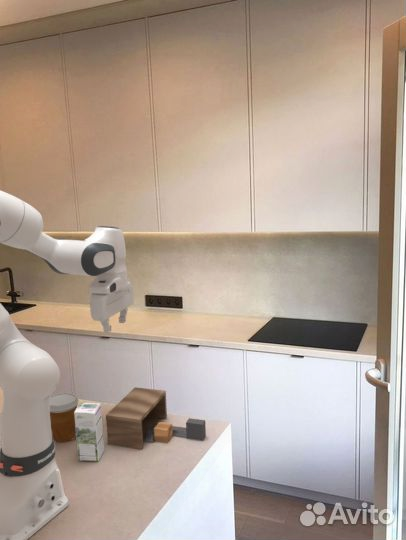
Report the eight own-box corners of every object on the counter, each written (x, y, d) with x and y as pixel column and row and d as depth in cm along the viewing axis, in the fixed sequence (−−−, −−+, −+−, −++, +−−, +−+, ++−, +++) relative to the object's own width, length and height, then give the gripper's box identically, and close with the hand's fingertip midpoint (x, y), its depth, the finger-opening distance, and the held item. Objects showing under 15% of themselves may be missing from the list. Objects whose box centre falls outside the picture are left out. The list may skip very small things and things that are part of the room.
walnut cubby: (141, 449, 136) (139, 419, 134) (107, 444, 139) (105, 415, 137) (166, 417, 153) (165, 390, 152) (136, 413, 157) (134, 387, 155)
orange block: (167, 443, 139) (167, 430, 138) (154, 441, 140) (153, 428, 139) (172, 436, 142) (172, 423, 142) (159, 434, 144) (159, 421, 143)
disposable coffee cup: (40, 442, 141) (37, 404, 139) (60, 426, 150) (57, 390, 147) (69, 447, 138) (65, 408, 135) (87, 431, 147) (84, 393, 144)
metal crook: (198, 449, 135) (197, 432, 134) (146, 442, 140) (145, 425, 139) (205, 436, 142) (205, 420, 141) (156, 429, 146) (155, 414, 145)
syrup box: (104, 450, 136) (101, 401, 133) (98, 462, 130) (94, 412, 127) (85, 449, 136) (81, 401, 134) (77, 462, 131) (73, 411, 128)
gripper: (118, 274, 152) (121, 316, 155) (84, 288, 133) (88, 337, 136) (137, 274, 150) (139, 317, 153) (105, 289, 131) (108, 338, 134)
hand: (115, 327), depth 144 cm, fingers open, 8 cm apart
